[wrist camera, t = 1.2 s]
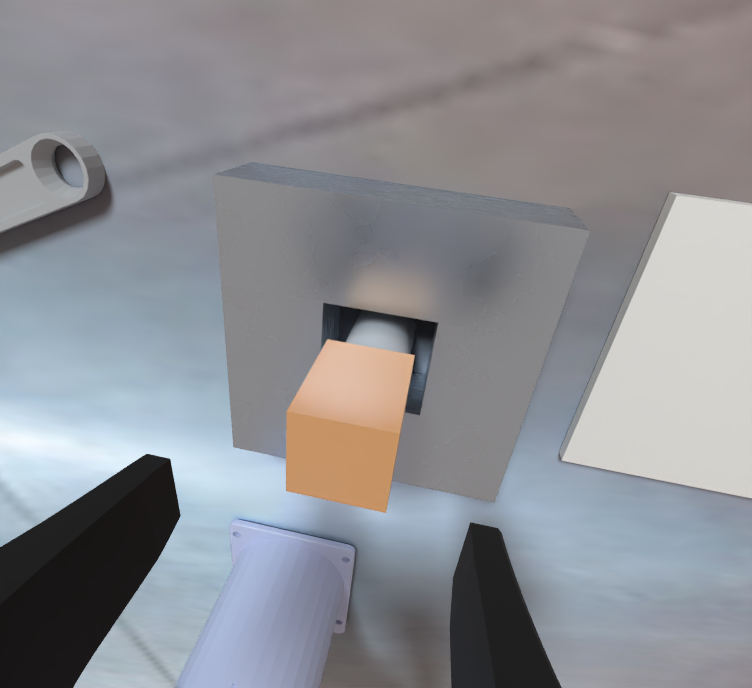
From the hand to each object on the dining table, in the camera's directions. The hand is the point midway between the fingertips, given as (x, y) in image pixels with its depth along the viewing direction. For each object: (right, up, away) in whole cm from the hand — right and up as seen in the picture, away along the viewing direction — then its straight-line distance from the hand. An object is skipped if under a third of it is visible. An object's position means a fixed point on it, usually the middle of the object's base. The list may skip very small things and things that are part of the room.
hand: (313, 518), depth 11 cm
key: (+2, +5, +9) cm, 10 cm away
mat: (+17, +3, +7) cm, 18 cm away
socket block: (+2, +5, +9) cm, 10 cm away
